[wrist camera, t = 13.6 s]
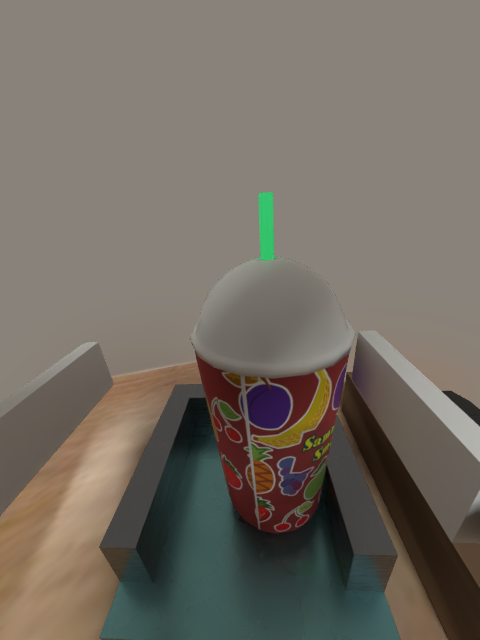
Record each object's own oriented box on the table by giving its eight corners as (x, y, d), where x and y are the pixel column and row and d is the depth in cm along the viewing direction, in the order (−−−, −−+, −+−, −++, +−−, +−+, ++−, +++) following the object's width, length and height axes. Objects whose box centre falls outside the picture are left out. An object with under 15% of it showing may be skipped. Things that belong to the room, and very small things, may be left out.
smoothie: (341, 579, 13) (425, 153, 5) (202, 544, 15) (117, 192, 7) (324, 448, 20) (348, 194, 13) (233, 435, 22) (208, 207, 15)
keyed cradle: (319, 414, 25) (322, 380, 23) (404, 660, 11) (427, 623, 9) (183, 417, 26) (175, 384, 24) (103, 641, 12) (71, 605, 10)
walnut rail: (361, 410, 25) (367, 371, 23) (519, 687, 10) (576, 647, 8) (341, 410, 25) (346, 372, 23) (470, 684, 10) (514, 643, 8)
